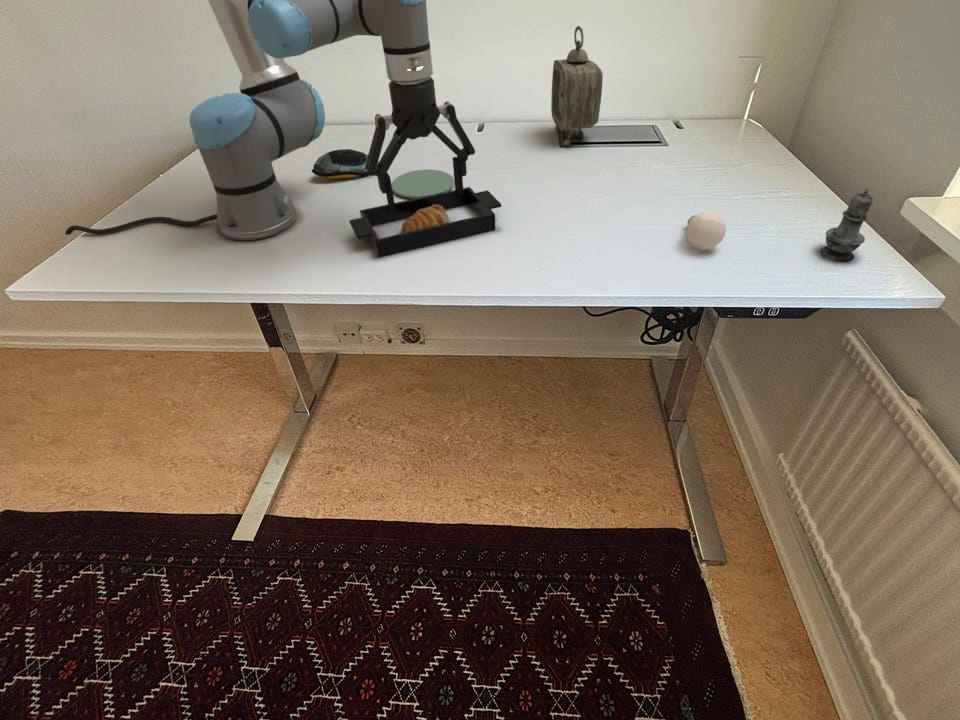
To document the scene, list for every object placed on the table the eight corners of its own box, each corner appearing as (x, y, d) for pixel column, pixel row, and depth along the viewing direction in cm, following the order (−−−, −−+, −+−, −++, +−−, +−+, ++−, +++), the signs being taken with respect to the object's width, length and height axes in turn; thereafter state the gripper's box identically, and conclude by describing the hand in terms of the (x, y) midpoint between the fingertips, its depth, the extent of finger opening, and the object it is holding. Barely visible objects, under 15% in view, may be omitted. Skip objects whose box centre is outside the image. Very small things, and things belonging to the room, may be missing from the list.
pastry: (414, 243, 102) (411, 225, 100) (395, 231, 106) (392, 213, 104) (453, 227, 106) (452, 209, 104) (434, 215, 110) (432, 198, 108)
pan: (364, 261, 98) (360, 244, 96) (349, 229, 107) (345, 213, 105) (508, 227, 105) (508, 210, 103) (482, 199, 115) (481, 184, 112)
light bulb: (682, 200, 100) (699, 211, 91) (717, 207, 101) (737, 219, 91) (670, 234, 103) (686, 249, 94) (704, 241, 103) (722, 257, 94)
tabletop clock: (549, 129, 144) (554, 21, 127) (582, 127, 145) (592, 19, 128) (561, 149, 133) (569, 34, 117) (597, 146, 134) (609, 32, 117)
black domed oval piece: (388, 172, 127) (384, 147, 124) (318, 188, 122) (312, 163, 118) (377, 160, 133) (373, 136, 129) (310, 174, 128) (303, 150, 124)
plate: (401, 205, 114) (401, 201, 114) (385, 180, 124) (384, 176, 123) (463, 192, 118) (462, 188, 117) (442, 169, 127) (441, 165, 127)
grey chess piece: (838, 266, 91) (870, 199, 83) (810, 250, 95) (838, 185, 87) (863, 258, 92) (897, 192, 84) (834, 242, 96) (864, 178, 88)
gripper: (340, 97, 82) (367, 223, 96) (489, 72, 88) (493, 194, 103) (331, 85, 88) (358, 206, 102) (472, 62, 94) (479, 179, 108)
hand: (426, 200), depth 102 cm, fingers open, 13 cm apart
